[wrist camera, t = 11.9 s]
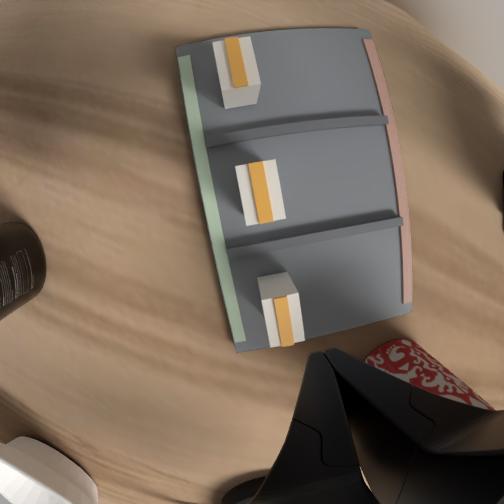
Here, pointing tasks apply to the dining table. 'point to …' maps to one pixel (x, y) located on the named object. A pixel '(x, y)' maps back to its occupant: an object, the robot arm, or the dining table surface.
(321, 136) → the panel
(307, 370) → the robot arm
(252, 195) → the block
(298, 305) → the block
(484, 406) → the mug
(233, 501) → the lamp
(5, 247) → the supplement bottle
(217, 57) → the block
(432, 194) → the dining table surface
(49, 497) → the bowl
